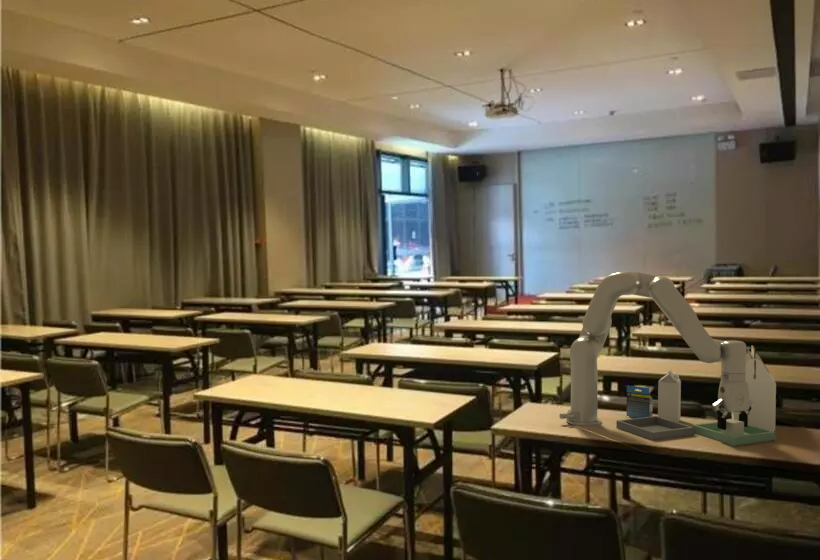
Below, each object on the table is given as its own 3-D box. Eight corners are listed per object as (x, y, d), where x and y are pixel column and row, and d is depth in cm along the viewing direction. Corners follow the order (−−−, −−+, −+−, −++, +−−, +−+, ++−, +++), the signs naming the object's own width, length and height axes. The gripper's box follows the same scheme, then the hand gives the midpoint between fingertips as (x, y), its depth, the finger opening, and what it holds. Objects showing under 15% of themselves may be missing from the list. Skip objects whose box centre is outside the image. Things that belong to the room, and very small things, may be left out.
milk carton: (657, 421, 250) (658, 370, 250) (660, 417, 257) (661, 368, 256) (678, 424, 247) (678, 372, 246) (680, 419, 253) (681, 369, 253)
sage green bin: (734, 446, 217) (734, 437, 217) (691, 433, 234) (691, 424, 234) (774, 441, 224) (775, 432, 224) (730, 428, 241) (730, 420, 240)
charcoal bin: (652, 441, 223) (652, 432, 223) (616, 428, 240) (616, 420, 240) (694, 436, 230) (694, 427, 230) (656, 424, 247) (656, 415, 247)
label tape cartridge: (652, 418, 255) (653, 386, 255) (649, 420, 252) (649, 387, 252) (629, 415, 261) (630, 383, 260) (626, 417, 258) (626, 385, 257)
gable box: (731, 415, 261) (732, 343, 260) (770, 418, 255) (771, 345, 254) (733, 428, 240) (734, 350, 239) (775, 432, 235) (776, 352, 234)
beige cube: (732, 438, 226) (733, 423, 225) (720, 434, 230) (720, 420, 230) (743, 436, 227) (744, 422, 227) (731, 433, 232) (731, 418, 232)
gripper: (723, 380, 221) (722, 432, 222) (761, 377, 228) (760, 427, 229) (705, 377, 228) (704, 427, 229) (742, 373, 235) (742, 422, 235)
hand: (732, 427), depth 229 cm, fingers open, 9 cm apart
